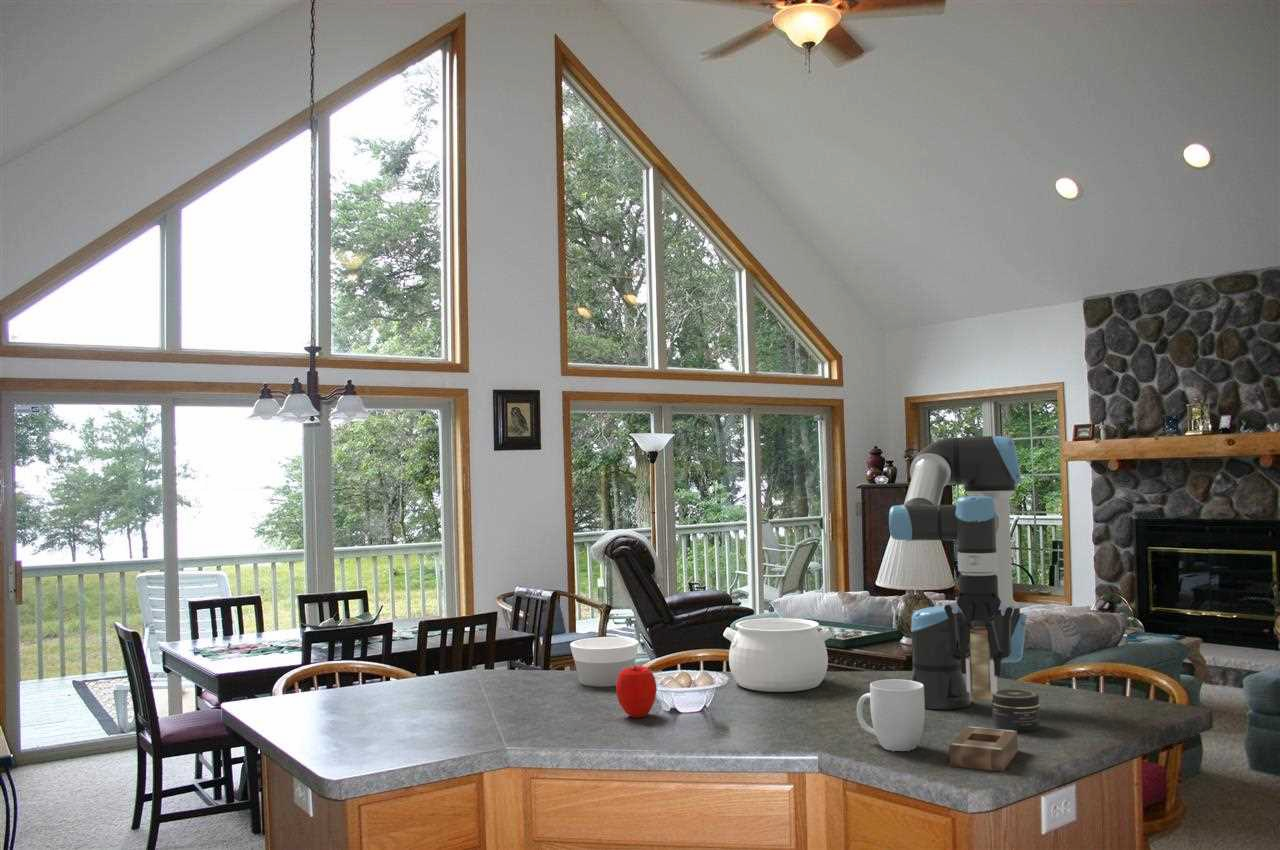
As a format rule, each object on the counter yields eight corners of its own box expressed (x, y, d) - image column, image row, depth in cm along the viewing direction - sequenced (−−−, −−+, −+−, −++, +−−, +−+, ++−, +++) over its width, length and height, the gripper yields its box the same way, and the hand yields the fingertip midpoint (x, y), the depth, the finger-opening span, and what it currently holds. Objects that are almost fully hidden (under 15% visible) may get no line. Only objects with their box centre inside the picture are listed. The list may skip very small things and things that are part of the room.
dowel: (969, 700, 212) (967, 629, 212) (973, 696, 215) (971, 626, 216) (990, 702, 210) (988, 630, 210) (994, 698, 213) (992, 627, 214)
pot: (836, 675, 296) (834, 617, 297) (831, 696, 271) (829, 632, 271) (731, 673, 303) (729, 616, 304) (717, 693, 277) (715, 631, 278)
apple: (632, 709, 262) (631, 659, 263) (666, 714, 257) (664, 663, 257) (608, 717, 254) (607, 666, 255) (642, 722, 248) (640, 670, 249)
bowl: (569, 676, 305) (568, 638, 306) (636, 673, 308) (635, 635, 308) (572, 690, 286) (571, 650, 287) (643, 686, 288) (642, 646, 289)
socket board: (949, 765, 208) (949, 744, 208) (967, 745, 222) (966, 725, 222) (1003, 771, 203) (1002, 749, 203) (1017, 750, 217) (1017, 730, 217)
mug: (845, 746, 223) (843, 684, 224) (870, 735, 232) (868, 675, 232) (911, 758, 214) (909, 692, 214) (935, 746, 222) (933, 682, 223)
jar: (1050, 730, 232) (1048, 695, 232) (1010, 735, 229) (1009, 699, 229) (1021, 720, 242) (1020, 686, 242) (983, 724, 239) (981, 690, 239)
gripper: (930, 574, 215) (934, 691, 213) (1018, 576, 206) (1023, 698, 205) (939, 570, 221) (943, 684, 220) (1025, 572, 213) (1029, 691, 212)
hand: (982, 691), depth 213 cm, fingers closed on dowel, 4 cm apart
